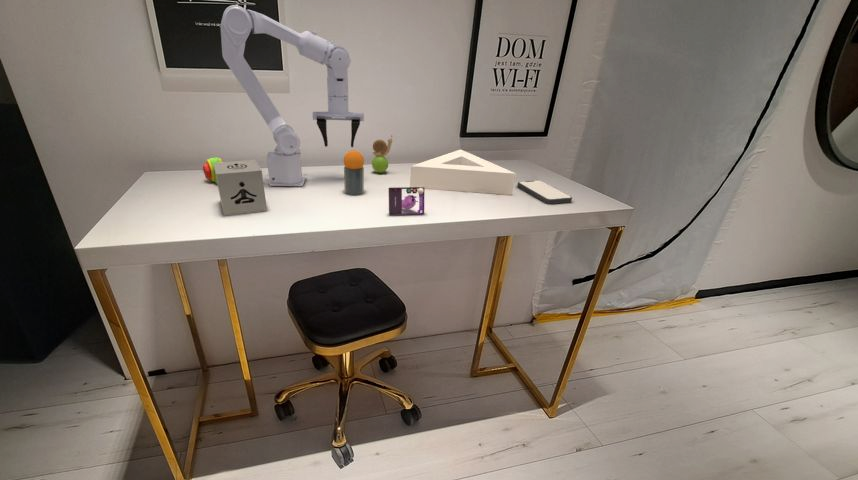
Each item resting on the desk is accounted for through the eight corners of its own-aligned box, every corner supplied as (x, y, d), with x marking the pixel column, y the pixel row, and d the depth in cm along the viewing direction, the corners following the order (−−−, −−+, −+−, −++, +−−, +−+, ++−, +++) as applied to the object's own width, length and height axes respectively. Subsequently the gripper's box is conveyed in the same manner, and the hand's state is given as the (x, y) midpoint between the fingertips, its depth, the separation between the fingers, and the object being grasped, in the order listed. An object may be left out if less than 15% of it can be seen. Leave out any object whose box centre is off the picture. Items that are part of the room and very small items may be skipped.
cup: (344, 195, 109) (343, 170, 105) (344, 188, 113) (344, 164, 110) (363, 195, 109) (363, 170, 106) (363, 189, 114) (363, 165, 110)
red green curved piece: (211, 188, 110) (206, 164, 106) (197, 170, 123) (192, 149, 120) (234, 184, 113) (230, 161, 109) (218, 168, 126) (214, 147, 123)
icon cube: (220, 201, 101) (213, 162, 96) (260, 197, 105) (255, 159, 99) (224, 215, 93) (216, 174, 88) (267, 210, 97) (261, 170, 92)
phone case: (573, 203, 111) (539, 184, 124) (574, 197, 110) (540, 179, 123) (546, 205, 108) (514, 186, 121) (548, 200, 108) (516, 181, 120)
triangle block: (511, 195, 114) (516, 173, 111) (433, 204, 105) (435, 181, 102) (458, 167, 138) (460, 149, 134) (390, 173, 129) (391, 153, 125)
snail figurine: (390, 175, 127) (392, 136, 120) (371, 174, 127) (371, 135, 120) (391, 170, 131) (392, 133, 125) (372, 169, 131) (372, 132, 125)
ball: (343, 174, 106) (343, 152, 103) (344, 168, 110) (343, 148, 108) (364, 174, 106) (364, 153, 103) (363, 168, 111) (363, 148, 108)
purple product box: (389, 187, 95) (425, 187, 96) (386, 188, 100) (420, 187, 101) (389, 215, 96) (425, 214, 98) (386, 214, 101) (420, 213, 103)
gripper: (310, 96, 105) (313, 148, 112) (364, 98, 106) (363, 149, 113) (312, 93, 111) (315, 143, 118) (363, 95, 112) (363, 144, 119)
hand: (339, 146), depth 116 cm, fingers open, 7 cm apart
